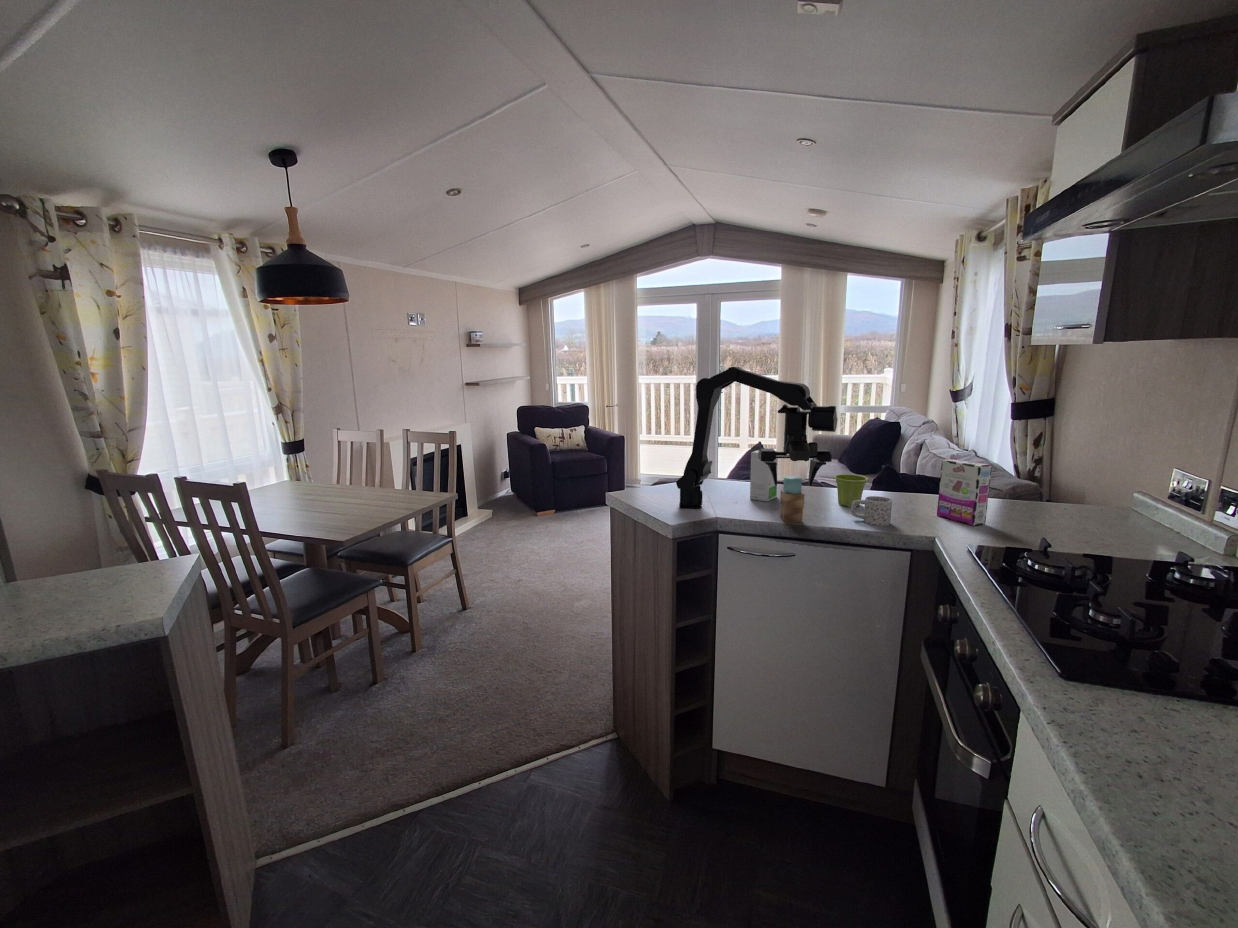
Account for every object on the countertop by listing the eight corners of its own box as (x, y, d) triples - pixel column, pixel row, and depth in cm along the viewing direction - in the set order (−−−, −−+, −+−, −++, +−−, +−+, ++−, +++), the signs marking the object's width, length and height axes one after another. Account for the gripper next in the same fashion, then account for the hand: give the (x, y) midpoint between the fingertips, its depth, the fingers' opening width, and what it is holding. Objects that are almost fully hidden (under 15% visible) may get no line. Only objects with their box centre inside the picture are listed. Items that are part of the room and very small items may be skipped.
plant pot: (859, 500, 168) (861, 474, 167) (870, 508, 159) (872, 480, 157) (829, 500, 169) (830, 474, 167) (838, 508, 160) (839, 480, 158)
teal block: (785, 494, 146) (785, 479, 145) (781, 489, 151) (782, 476, 150) (803, 494, 146) (803, 480, 145) (799, 490, 150) (799, 476, 150)
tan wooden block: (785, 508, 146) (786, 494, 146) (780, 503, 151) (780, 490, 151) (803, 508, 147) (804, 494, 146) (797, 503, 151) (798, 489, 151)
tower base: (783, 521, 148) (784, 508, 147) (780, 516, 152) (780, 503, 152) (802, 522, 147) (802, 508, 146) (798, 517, 152) (798, 503, 151)
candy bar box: (986, 524, 142) (993, 464, 139) (973, 526, 141) (980, 466, 138) (948, 513, 153) (953, 457, 150) (935, 515, 151) (941, 459, 148)
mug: (891, 521, 147) (893, 497, 145) (889, 527, 141) (891, 503, 140) (852, 516, 152) (853, 493, 151) (848, 522, 146) (850, 499, 145)
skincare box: (767, 502, 168) (769, 453, 165) (748, 499, 172) (749, 452, 169) (777, 496, 175) (779, 450, 172) (758, 494, 179) (760, 448, 176)
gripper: (765, 433, 138) (763, 492, 141) (839, 433, 136) (835, 492, 139) (758, 428, 149) (756, 482, 152) (827, 428, 147) (824, 483, 150)
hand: (792, 485), depth 148 cm, fingers open, 9 cm apart
